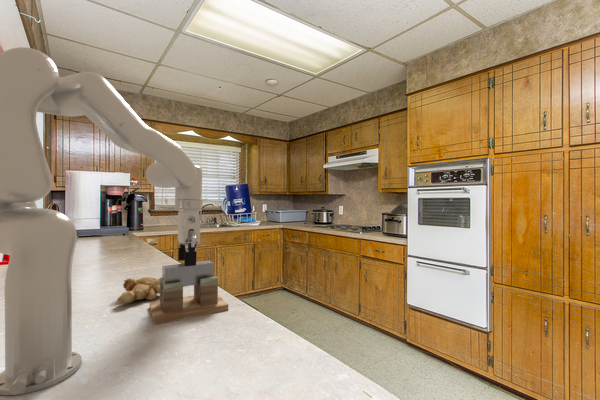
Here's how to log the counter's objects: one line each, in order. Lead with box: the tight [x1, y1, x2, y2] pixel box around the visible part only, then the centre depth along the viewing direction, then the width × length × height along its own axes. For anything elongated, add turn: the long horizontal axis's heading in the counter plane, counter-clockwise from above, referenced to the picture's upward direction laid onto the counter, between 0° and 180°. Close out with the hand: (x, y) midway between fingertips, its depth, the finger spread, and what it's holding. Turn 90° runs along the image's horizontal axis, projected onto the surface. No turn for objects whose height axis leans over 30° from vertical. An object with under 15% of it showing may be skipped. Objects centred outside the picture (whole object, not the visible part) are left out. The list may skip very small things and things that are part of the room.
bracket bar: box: [161, 259, 215, 288], centre depth 90 cm, size 4×14×6 cm, turn 125°
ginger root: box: [116, 276, 160, 304], centre depth 100 cm, size 16×16×8 cm
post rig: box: [149, 276, 229, 325], centre depth 90 cm, size 14×20×10 cm
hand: (186, 262), depth 89 cm, fingers open, 9 cm apart
